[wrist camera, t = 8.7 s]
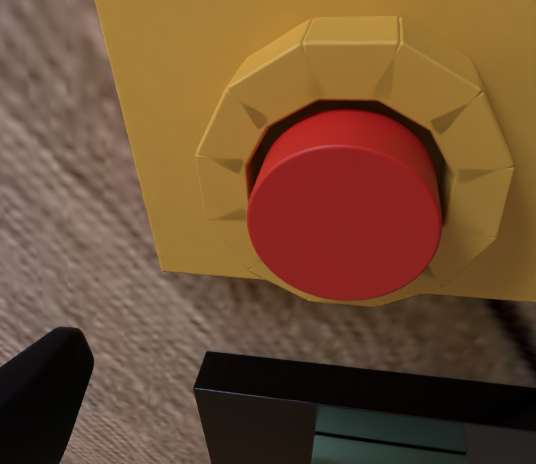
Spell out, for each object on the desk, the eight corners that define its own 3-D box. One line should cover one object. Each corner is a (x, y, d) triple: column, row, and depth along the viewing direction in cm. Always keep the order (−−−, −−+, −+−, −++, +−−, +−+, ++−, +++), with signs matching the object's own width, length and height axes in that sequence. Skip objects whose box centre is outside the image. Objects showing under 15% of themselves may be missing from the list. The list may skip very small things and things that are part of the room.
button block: (648, -69, 11) (751, -32, 8) (539, 256, 16) (574, 355, 13) (125, -47, 13) (42, -12, 10) (182, 232, 18) (140, 311, 15)
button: (449, 108, 10) (458, 149, 9) (424, 260, 13) (429, 310, 11) (255, 104, 11) (236, 141, 10) (267, 248, 13) (253, 294, 12)
